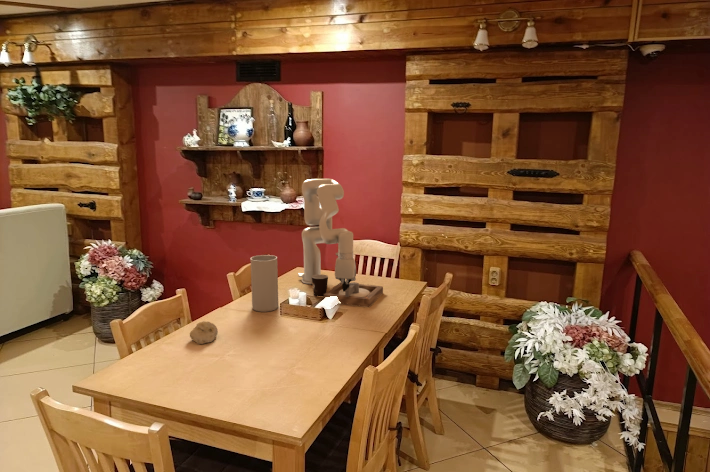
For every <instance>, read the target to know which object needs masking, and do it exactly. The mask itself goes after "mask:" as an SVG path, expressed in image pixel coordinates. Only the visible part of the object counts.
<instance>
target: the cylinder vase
mask: <svg viewBox="0 0 710 472" xmlns="http://www.w3.org/2000/svg"><path fill="white" fill-rule="evenodd" d="M278 276H279V274H278V256H276V255H273V254H272V255H270V254H261V255H254V256H251V257H250V277H251V278H250V280H251V282H250V283H251V303H252V304H251V305H252V307H251V308H252V309H253V311H255V312H260V313H268V312H272V311H276V310H277V309H278V308H279V282H278V281H279V277H278Z"/></svg>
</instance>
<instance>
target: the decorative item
mask: <svg viewBox="0 0 710 472" xmlns="http://www.w3.org/2000/svg"><path fill="white" fill-rule="evenodd" d="M218 331H219V330H218V328H217V326H216V325H215V324H214V323H212V322H210V321H201V322H198V323H197V324H196V326H195V327H194V328H193V329H192V330H191V331H190V333H189V338H190V339H191V340H192V341H194V342H195V343H196V344H197V345H202V344H207V343H211V342H213V341H214V340H215V338H216V337H217V335H218V333H219V332H218Z"/></svg>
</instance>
